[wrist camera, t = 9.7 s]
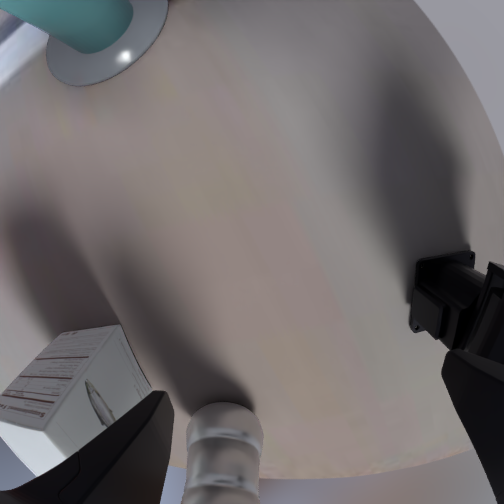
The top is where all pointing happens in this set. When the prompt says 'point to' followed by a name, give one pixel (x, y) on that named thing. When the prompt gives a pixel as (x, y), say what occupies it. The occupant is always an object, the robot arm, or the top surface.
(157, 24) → the coaster
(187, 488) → the plastic bottle
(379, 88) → the top surface
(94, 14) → the cylinder
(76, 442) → the supplement box
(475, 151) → the top surface
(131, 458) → the robot arm
